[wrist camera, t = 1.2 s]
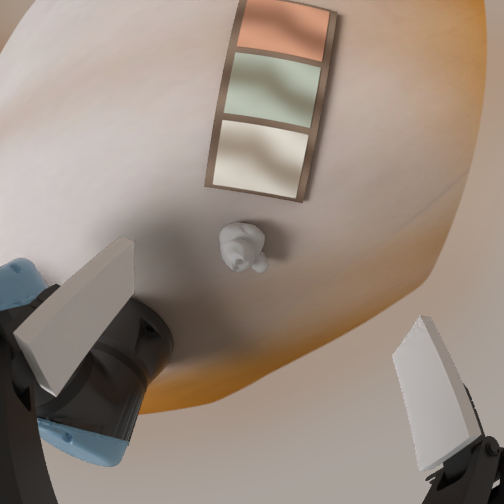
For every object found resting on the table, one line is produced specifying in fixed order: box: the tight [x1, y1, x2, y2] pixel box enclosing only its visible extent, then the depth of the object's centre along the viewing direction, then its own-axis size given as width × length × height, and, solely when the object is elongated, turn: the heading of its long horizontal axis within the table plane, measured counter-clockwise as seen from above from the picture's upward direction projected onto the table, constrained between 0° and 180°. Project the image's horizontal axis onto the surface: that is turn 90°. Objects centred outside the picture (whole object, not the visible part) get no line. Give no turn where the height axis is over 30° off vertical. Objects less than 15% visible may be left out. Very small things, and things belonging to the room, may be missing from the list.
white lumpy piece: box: [219, 223, 268, 273], centre depth 30 cm, size 5×7×8 cm
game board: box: [204, 0, 337, 203], centre depth 25 cm, size 24×11×1 cm, turn 170°
